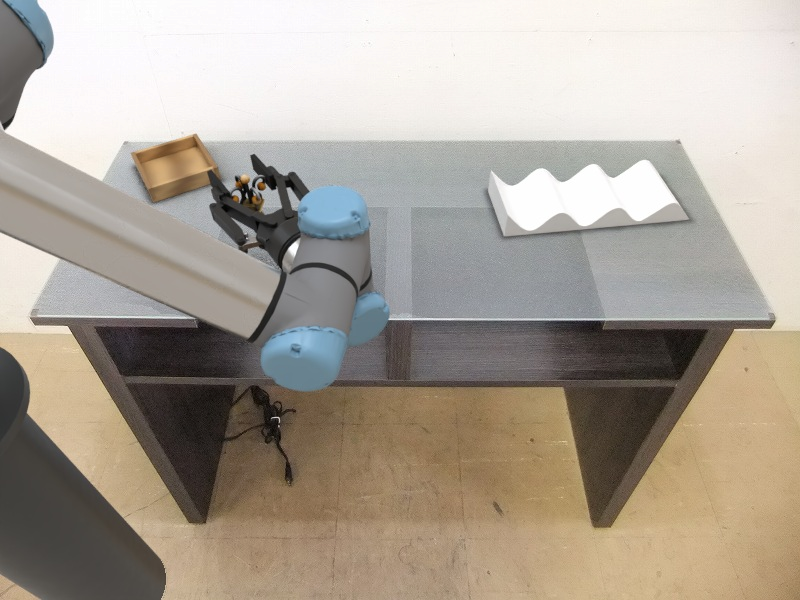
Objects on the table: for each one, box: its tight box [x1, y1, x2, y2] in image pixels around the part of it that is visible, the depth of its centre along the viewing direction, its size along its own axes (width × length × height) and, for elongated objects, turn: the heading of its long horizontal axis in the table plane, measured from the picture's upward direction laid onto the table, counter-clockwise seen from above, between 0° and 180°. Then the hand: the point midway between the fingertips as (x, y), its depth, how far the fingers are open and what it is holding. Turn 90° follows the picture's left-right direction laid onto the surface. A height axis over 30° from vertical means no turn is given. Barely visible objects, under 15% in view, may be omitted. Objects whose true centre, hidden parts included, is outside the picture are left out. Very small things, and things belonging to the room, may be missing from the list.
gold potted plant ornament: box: [228, 174, 267, 214], centre depth 91 cm, size 5×5×8 cm
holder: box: [130, 133, 222, 203], centre depth 120 cm, size 14×14×3 cm
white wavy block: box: [487, 159, 690, 237], centre depth 111 cm, size 13×35×5 cm, turn 97°
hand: (233, 169), depth 92 cm, fingers closed on gold potted plant ornament, 6 cm apart
